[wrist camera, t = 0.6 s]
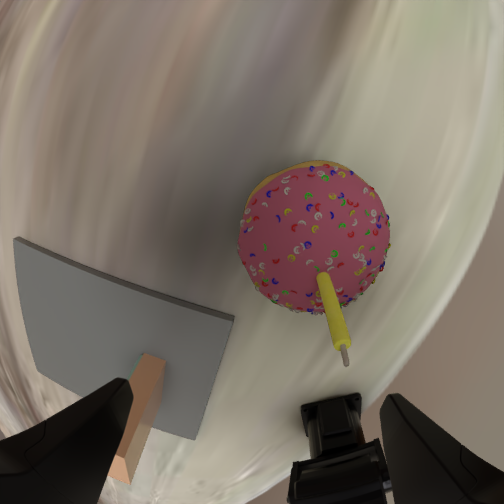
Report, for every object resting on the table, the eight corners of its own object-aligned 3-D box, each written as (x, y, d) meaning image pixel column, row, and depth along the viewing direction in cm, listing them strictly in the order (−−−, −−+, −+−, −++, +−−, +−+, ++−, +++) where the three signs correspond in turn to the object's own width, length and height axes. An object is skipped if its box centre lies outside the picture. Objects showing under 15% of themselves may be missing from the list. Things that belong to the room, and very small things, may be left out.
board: (234, 316, 22) (233, 321, 21) (196, 435, 28) (195, 440, 28) (18, 236, 21) (13, 238, 20) (40, 367, 27) (37, 370, 27)
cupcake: (359, 274, 20) (431, 385, 9) (249, 281, 21) (230, 410, 9) (361, 159, 17) (478, 173, 6) (238, 163, 18) (191, 174, 7)
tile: (166, 360, 23) (124, 458, 13) (161, 402, 25) (130, 484, 15) (141, 351, 23) (91, 443, 12) (139, 394, 25) (104, 473, 15)
